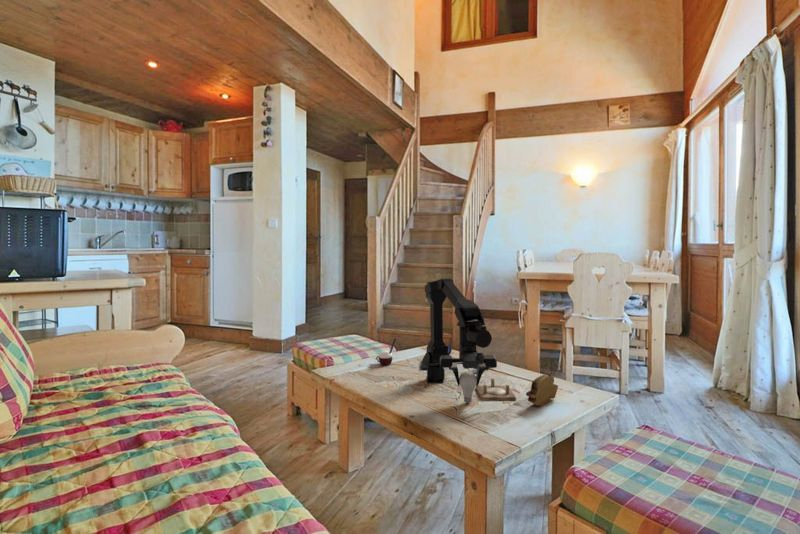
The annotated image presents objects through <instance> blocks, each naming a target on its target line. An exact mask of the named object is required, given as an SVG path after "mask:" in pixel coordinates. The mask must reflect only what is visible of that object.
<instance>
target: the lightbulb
mask: <svg viewBox="0 0 800 534" xmlns="http://www.w3.org/2000/svg"><path fill="white" fill-rule="evenodd" d="M469 371H470V370H467V371H463V372H461V374H459V387H460V388H461V389H462V396H463V401H464V403H466V404H467V405H468V404H471V403H472V400H473V399H472V397H473V395H474V394H473V392H474V389H476V384H477V378H476V374H475V373H474V374H473V373H472V372H469Z"/></svg>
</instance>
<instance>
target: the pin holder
mask: <svg viewBox="0 0 800 534" xmlns="http://www.w3.org/2000/svg"><path fill="white" fill-rule="evenodd" d="M475 389H476V391H478V392H477V394H478V396H479V400H481V401H516V400H517V397H516V396H515V394H514V392H513V391H512V390H511V388H510V385H509V384H505V385H495V378H491V379H490V385H487V384H483V385H478V386H475Z"/></svg>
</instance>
